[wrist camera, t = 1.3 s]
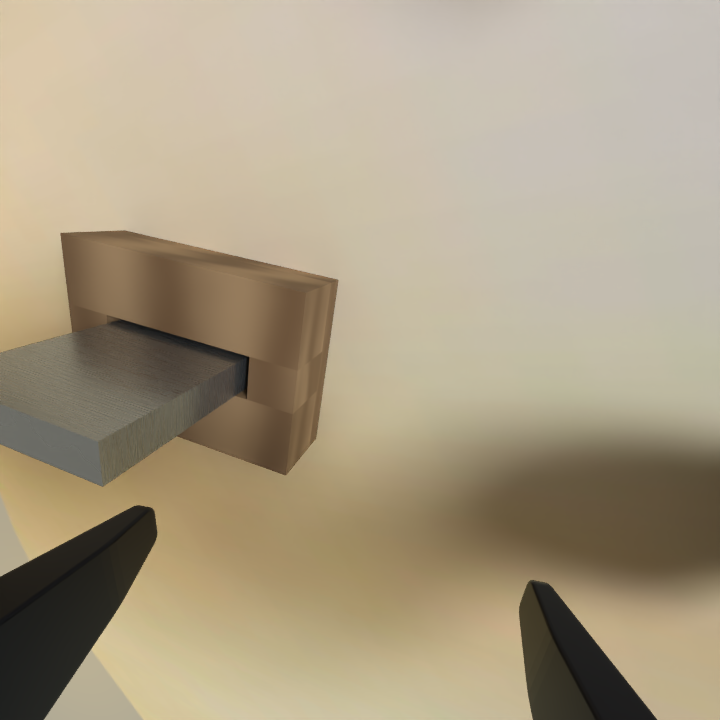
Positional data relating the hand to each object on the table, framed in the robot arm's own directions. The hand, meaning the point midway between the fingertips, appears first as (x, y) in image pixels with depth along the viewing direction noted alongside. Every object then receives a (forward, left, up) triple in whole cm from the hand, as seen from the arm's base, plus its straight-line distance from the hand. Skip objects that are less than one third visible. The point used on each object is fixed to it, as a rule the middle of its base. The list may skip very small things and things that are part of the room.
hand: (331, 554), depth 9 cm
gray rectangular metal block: (+10, +8, -12) cm, 17 cm away
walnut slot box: (+10, +8, -13) cm, 18 cm away
